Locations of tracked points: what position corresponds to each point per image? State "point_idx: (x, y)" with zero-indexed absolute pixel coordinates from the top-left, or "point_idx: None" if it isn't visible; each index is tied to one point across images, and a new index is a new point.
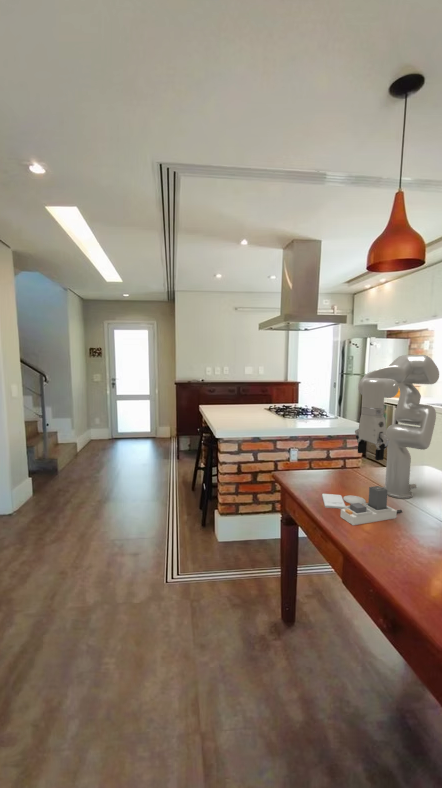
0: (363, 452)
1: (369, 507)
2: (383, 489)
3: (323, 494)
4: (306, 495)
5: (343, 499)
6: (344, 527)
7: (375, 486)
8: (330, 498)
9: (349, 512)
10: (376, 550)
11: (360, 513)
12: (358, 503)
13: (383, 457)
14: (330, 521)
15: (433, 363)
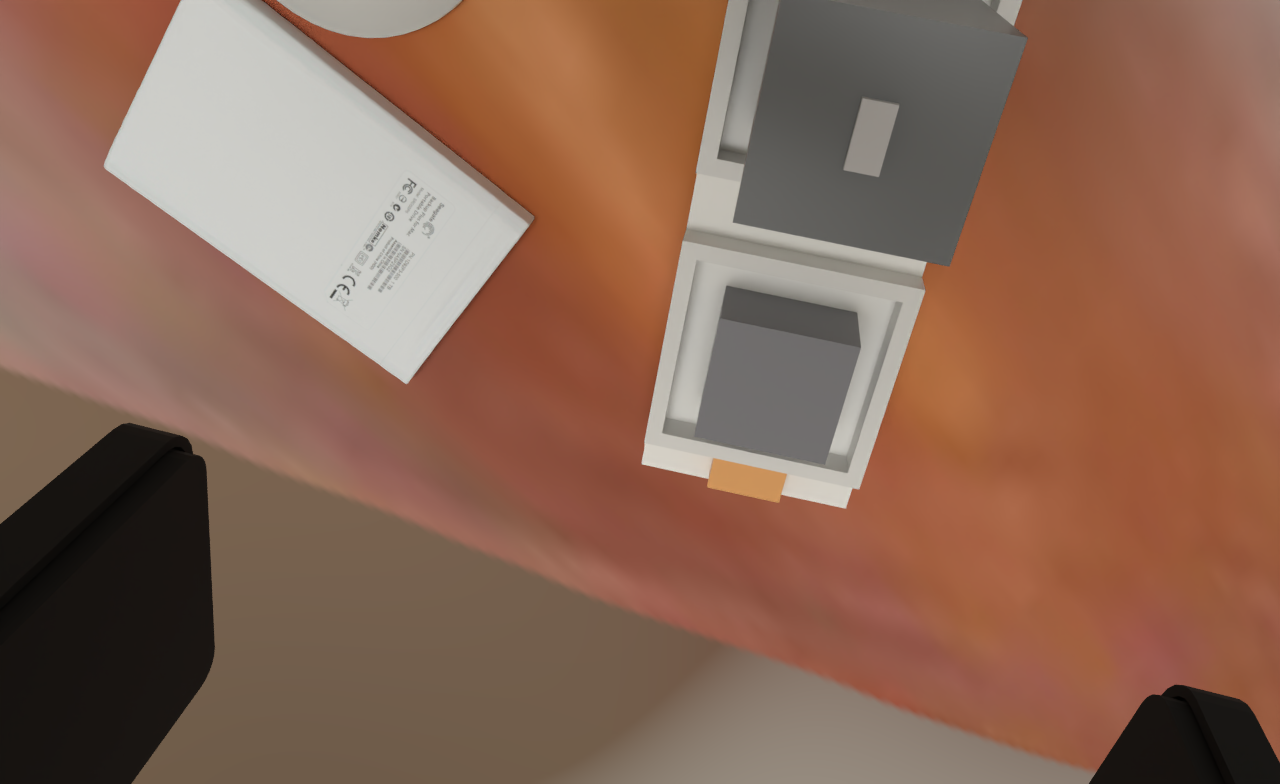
0: (197, 520)
1: None
2: (961, 93)
3: (132, 178)
4: (82, 314)
5: (291, 6)
6: (825, 545)
7: (772, 87)
8: (261, 195)
9: (776, 501)
10: (1231, 638)
11: (869, 443)
12: (734, 342)
13: (1273, 759)
14: (678, 554)
15: None
